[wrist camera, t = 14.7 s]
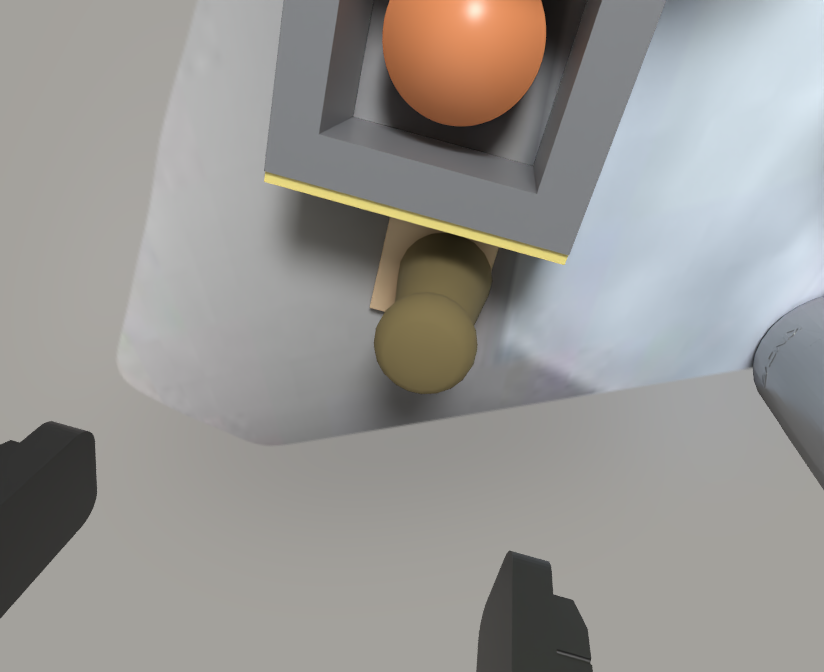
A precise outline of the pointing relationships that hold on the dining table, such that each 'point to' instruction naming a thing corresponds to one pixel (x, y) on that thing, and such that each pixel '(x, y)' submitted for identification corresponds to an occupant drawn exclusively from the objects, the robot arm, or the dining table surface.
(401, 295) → the olive brown knobbed peg
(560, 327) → the dining table surface
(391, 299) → the cork coaster
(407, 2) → the button
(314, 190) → the box
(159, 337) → the dining table surface
